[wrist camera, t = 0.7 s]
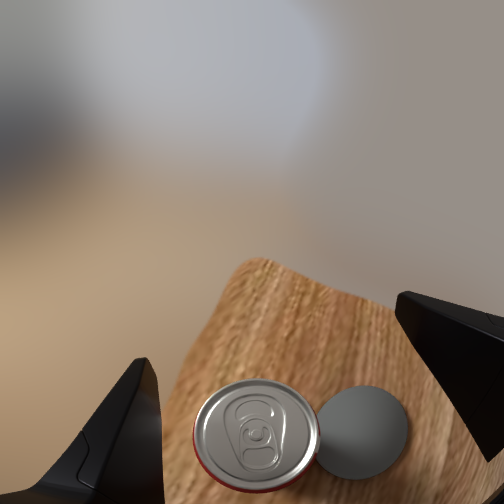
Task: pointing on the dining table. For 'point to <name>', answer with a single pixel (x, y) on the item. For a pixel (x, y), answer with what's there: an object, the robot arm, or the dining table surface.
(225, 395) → the soda can
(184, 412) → the dining table surface
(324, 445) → the coaster
